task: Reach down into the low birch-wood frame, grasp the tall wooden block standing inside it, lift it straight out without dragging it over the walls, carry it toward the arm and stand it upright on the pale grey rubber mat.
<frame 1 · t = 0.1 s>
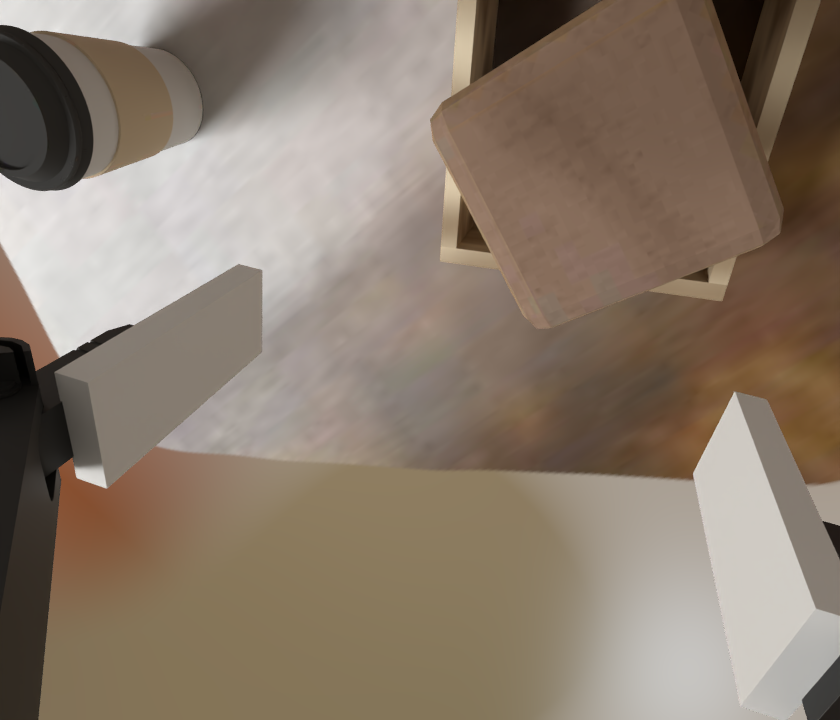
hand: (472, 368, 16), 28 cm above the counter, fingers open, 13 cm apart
coffee cup: (165, 97, 45), on the counter
birch frame: (602, 120, 37), on the counter
wooden block: (602, 119, 37), resting in birch frame
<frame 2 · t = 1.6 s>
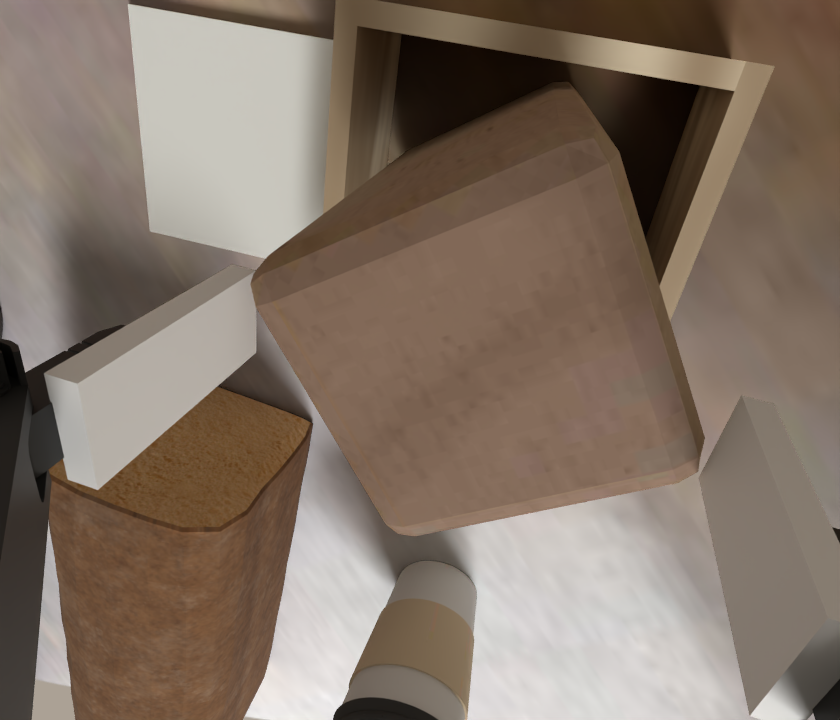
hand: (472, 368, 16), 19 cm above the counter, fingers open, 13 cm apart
coffee cup: (437, 587, 49), on the counter
grey mat: (243, 147, 35), on the counter
birch frame: (512, 203, 32), on the counter
wooden block: (512, 203, 32), resting in birch frame, touching gripper
bread: (225, 531, 53), on the counter
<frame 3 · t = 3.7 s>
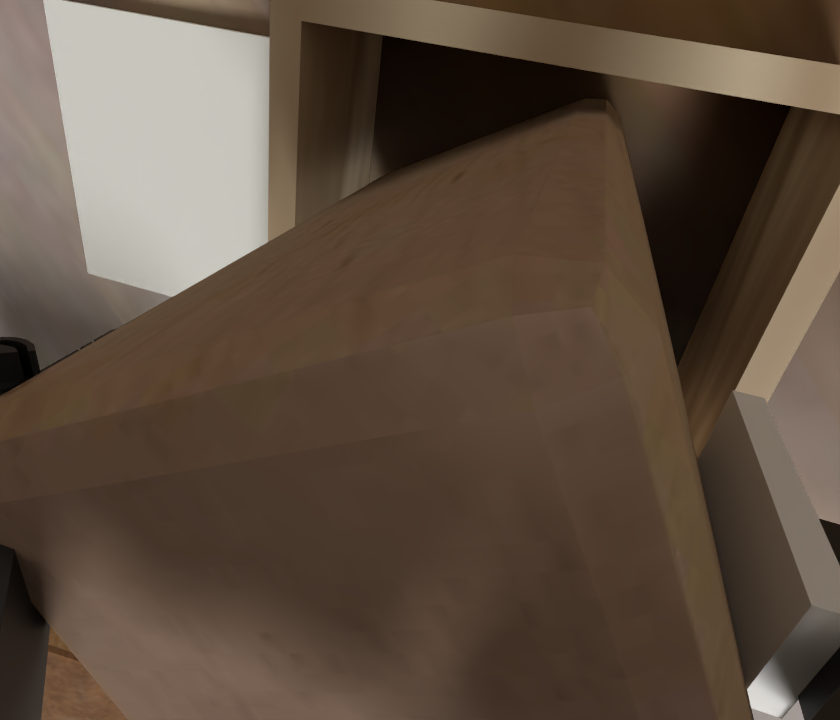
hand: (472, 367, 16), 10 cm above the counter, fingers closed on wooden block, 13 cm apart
grey mat: (191, 176, 28), on the counter
birch frame: (527, 254, 25), on the counter
wooden block: (520, 252, 25), resting in birch frame, touching gripper
bread: (194, 609, 46), on the counter
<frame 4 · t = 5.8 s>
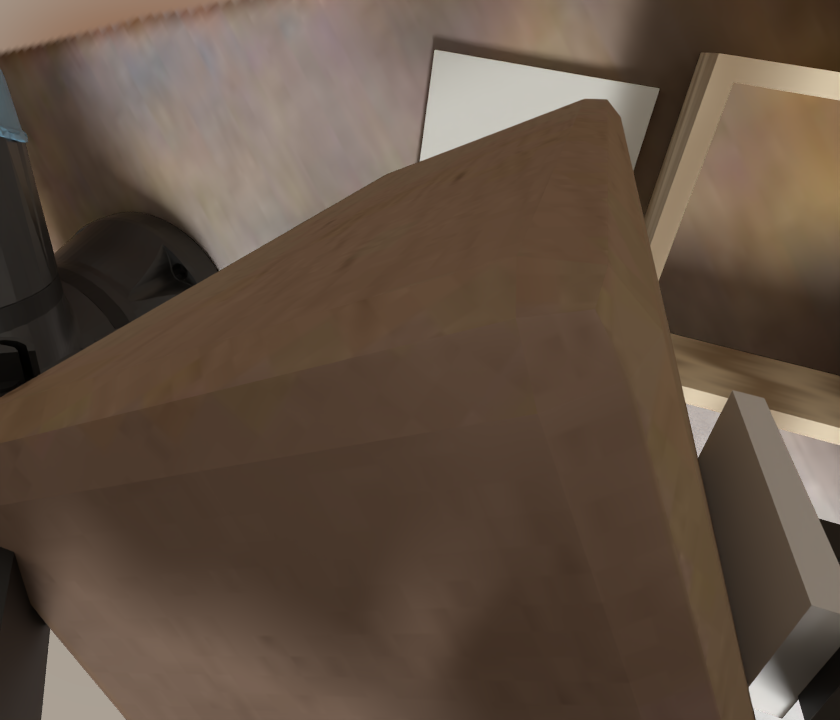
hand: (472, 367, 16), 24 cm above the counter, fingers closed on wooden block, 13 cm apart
grey mat: (518, 181, 37), on the counter
birch frame: (796, 240, 33), on the counter
wooden block: (520, 252, 25), point 14 cm above the counter, touching gripper
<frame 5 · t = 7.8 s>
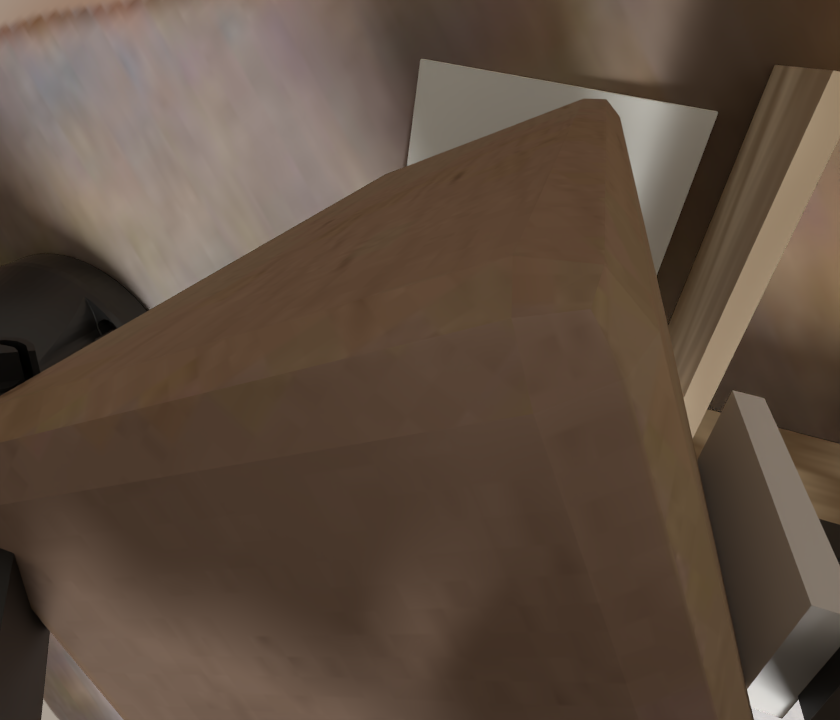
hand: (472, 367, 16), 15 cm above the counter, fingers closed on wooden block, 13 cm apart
grey mat: (528, 225, 29), on the counter
wooden block: (520, 252, 25), point 5 cm above the counter, touching gripper
when the fingers open (12 cm above the counter, at t = 9.3 s): wooden block drops 1 cm, resting on grey mat.
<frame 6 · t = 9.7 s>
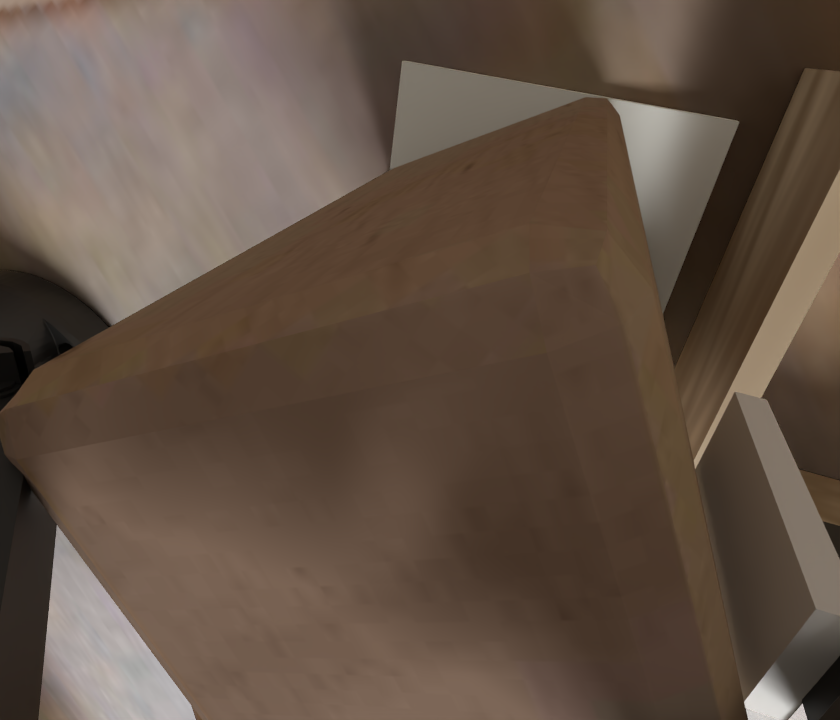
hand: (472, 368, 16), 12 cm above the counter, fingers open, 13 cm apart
grey mat: (524, 246, 26), on the counter
wooden block: (522, 245, 25), resting on grey mat, touching gripper
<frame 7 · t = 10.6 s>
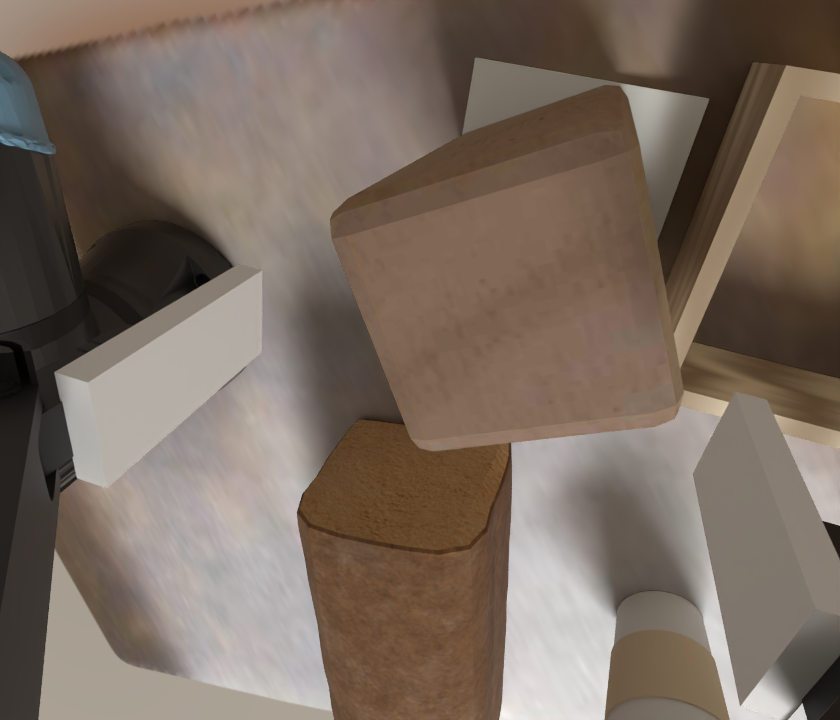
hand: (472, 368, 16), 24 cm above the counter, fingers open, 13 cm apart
coffee cup: (659, 617, 50), on the counter
grey mat: (558, 192, 36), on the counter
wooden block: (555, 192, 35), resting on grey mat
bread: (438, 568, 55), on the counter
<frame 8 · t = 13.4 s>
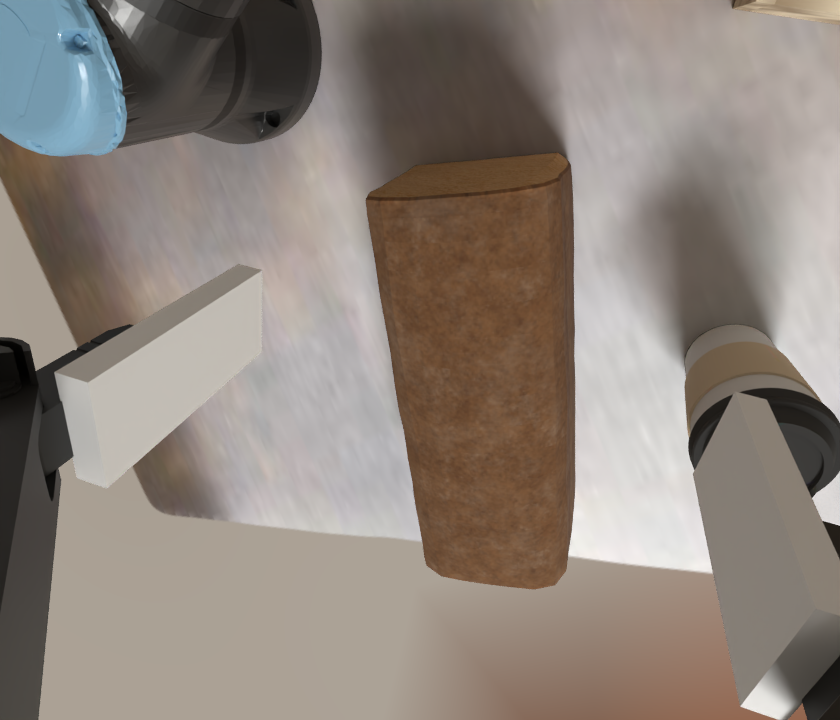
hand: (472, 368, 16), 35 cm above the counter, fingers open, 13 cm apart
coffee cup: (728, 359, 49), on the counter
bread: (500, 343, 55), on the counter
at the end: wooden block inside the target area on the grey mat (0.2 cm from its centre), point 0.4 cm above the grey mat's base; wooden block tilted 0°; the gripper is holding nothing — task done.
